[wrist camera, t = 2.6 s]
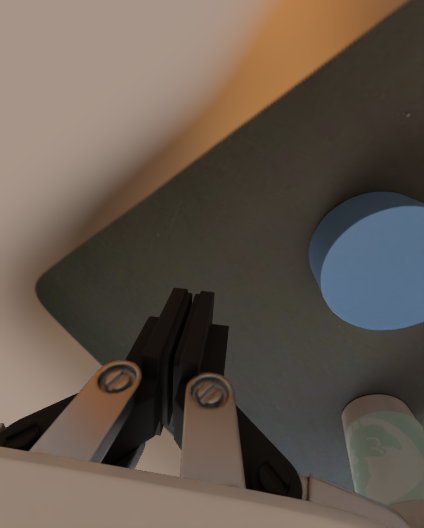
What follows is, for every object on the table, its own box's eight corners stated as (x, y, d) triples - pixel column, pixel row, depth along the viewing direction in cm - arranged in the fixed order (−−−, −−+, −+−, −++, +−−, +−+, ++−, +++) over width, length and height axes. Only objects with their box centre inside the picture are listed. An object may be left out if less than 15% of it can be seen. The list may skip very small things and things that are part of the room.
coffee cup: (397, 367, 24) (521, 568, 13) (443, 426, 26) (582, 640, 15) (308, 405, 27) (347, 592, 16) (355, 455, 29) (418, 649, 18)
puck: (337, 176, 18) (357, 187, 14) (459, 210, 18) (509, 228, 14) (291, 282, 21) (299, 311, 18) (394, 310, 21) (421, 344, 18)
